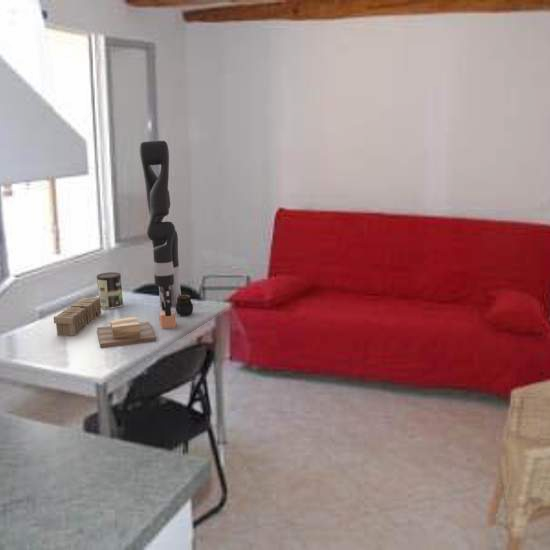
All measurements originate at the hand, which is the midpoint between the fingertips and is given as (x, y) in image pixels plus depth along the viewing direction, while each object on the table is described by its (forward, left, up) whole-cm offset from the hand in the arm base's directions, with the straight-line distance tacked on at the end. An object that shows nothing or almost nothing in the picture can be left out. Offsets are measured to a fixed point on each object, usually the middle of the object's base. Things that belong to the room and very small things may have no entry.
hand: (166, 313), depth 259 cm
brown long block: (-16, -33, -6) cm, 37 cm away
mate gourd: (-12, +9, -6) cm, 16 cm away
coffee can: (-38, -19, -6) cm, 43 cm away
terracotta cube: (0, 0, -6) cm, 6 cm away
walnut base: (+6, -17, -5) cm, 18 cm away
